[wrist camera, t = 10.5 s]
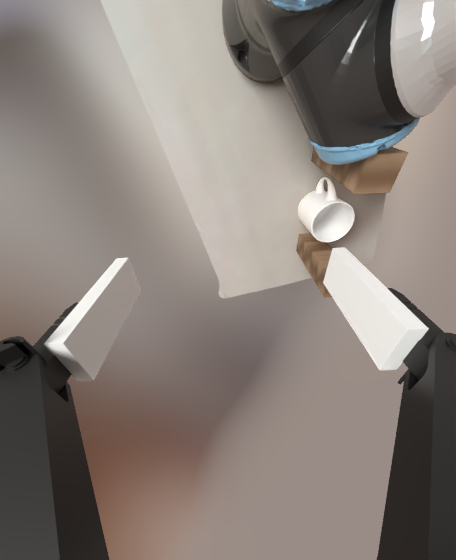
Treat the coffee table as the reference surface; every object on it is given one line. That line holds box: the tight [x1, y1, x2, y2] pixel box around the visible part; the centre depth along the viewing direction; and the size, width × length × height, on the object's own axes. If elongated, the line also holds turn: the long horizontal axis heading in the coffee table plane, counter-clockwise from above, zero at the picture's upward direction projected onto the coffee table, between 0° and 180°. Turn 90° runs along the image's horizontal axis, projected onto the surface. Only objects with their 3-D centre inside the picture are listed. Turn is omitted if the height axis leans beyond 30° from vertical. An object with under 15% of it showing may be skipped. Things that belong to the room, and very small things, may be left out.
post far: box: [296, 234, 332, 297], centre depth 48 cm, size 5×5×20 cm
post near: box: [311, 147, 408, 194], centre depth 36 cm, size 5×5×20 cm
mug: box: [298, 177, 355, 242], centre depth 45 cm, size 9×12×11 cm
